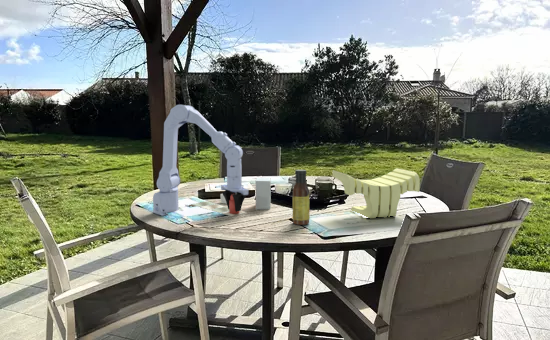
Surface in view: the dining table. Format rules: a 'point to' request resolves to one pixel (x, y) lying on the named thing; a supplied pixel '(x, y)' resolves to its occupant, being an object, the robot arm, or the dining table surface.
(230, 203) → the pawn
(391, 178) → the slatted curved stool
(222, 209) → the board
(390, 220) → the dining table surface
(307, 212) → the sauce bottle
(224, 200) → the die
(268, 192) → the small box
